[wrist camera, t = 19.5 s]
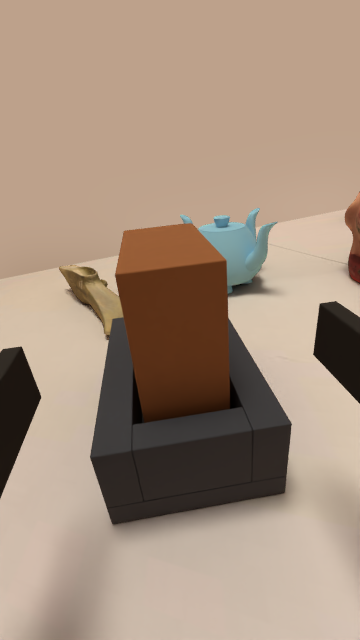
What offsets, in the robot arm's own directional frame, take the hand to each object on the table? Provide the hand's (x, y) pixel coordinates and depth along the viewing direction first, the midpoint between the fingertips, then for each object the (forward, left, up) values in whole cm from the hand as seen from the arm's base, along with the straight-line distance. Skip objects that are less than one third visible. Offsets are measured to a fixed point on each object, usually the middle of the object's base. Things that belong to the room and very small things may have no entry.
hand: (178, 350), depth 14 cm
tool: (+18, +26, -10) cm, 33 cm away
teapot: (+32, +12, -10) cm, 36 cm away
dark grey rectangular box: (+5, +4, -10) cm, 12 cm away
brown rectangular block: (+5, +4, -9) cm, 11 cm away
